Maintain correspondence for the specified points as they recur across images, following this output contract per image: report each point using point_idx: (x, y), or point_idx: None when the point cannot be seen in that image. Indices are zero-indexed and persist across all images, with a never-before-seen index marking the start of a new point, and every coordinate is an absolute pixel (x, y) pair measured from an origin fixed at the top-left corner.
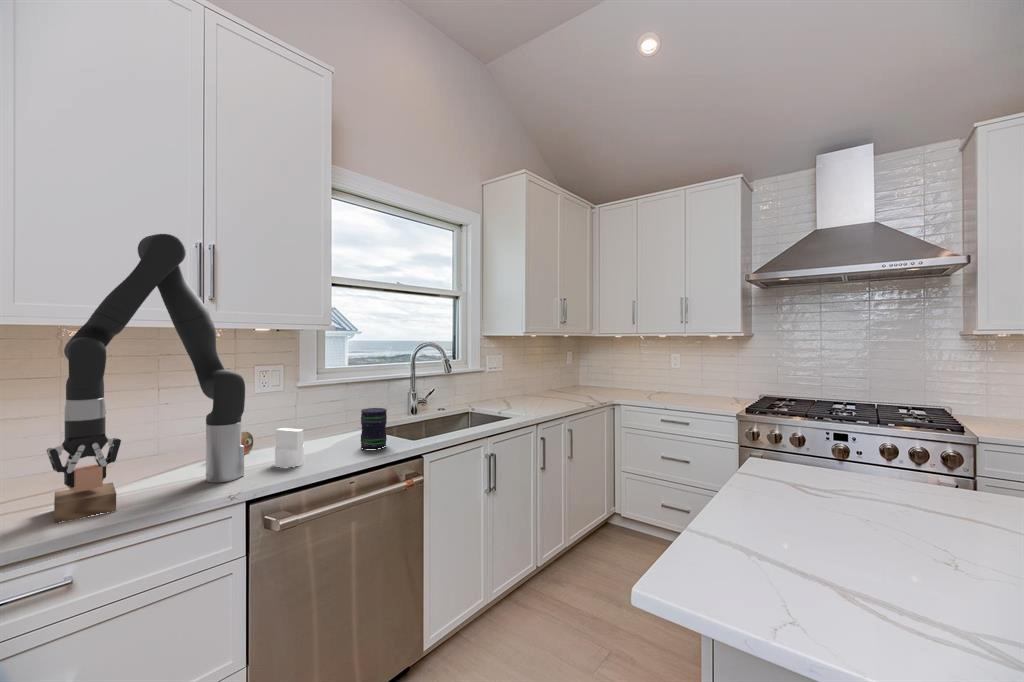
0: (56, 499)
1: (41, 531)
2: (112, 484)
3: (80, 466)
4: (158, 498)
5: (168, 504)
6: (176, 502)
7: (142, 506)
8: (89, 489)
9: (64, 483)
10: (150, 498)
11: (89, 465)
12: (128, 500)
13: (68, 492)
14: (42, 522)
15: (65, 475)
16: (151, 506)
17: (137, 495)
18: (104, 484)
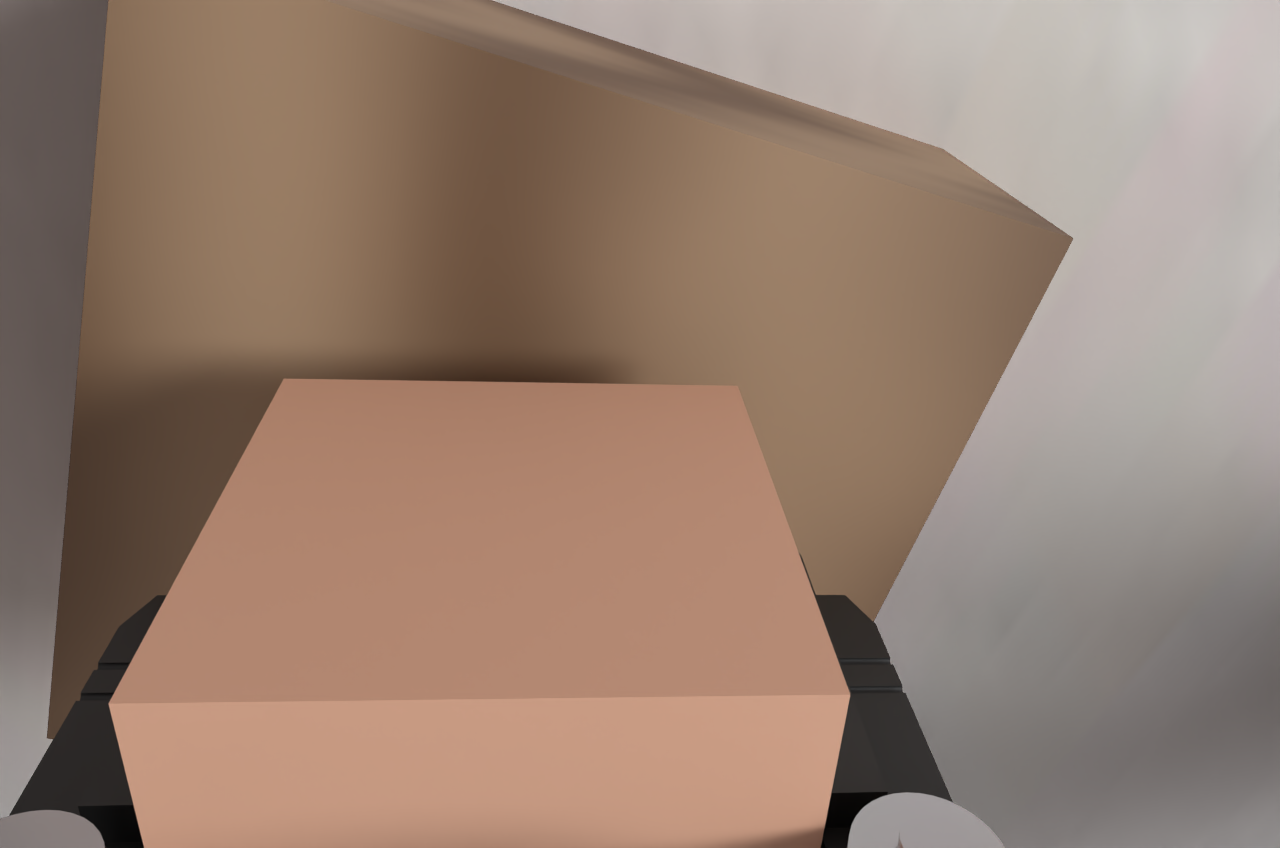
0: (90, 547)
1: (29, 677)
2: (983, 381)
3: (446, 708)
4: (1181, 596)
5: (1070, 835)
6: (1139, 838)
7: (931, 713)
8: (624, 374)
9: (123, 637)
10: (1153, 525)
11: (666, 772)
12: (1005, 381)
13: (316, 260)
14: (51, 384)
15: (57, 806)
16: (968, 775)
17: (1196, 256)
18: (923, 253)
